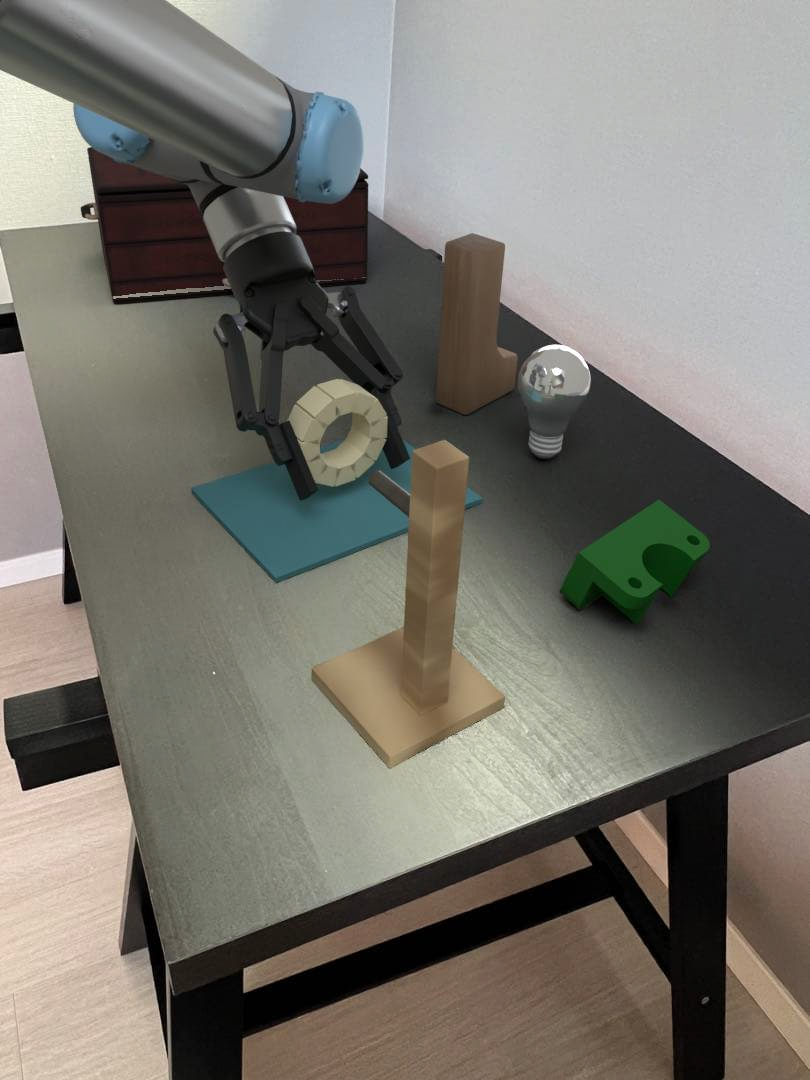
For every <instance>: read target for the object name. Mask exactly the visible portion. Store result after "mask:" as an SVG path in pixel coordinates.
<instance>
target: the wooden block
mask: <svg viewBox="0 0 810 1080" xmlns="http://www.w3.org/2000/svg"><path fill="white" fill-rule="evenodd" d="M505 253H506V244H505V243H504V242H502V241H499V240H495V239H492V238H489V237H486V236H483V235H480V234H477V233H474V232H473V233H469V234H466V235H463V236H459V237H457V238H454V239H451V240H449V241H446V242H445V245H444V259H443V273H442V275H443V276H442V291H441V305H440V306H441V307H440V308H441V309H440V322H439V323H440V326H439V341H438V356H437V373H436V374H437V375H436V389H435V402H436V403H437V404H438V405H441V406H443V407H445V408H447V409H449V410H452V411H454V412H456V413H459V414H461V415H464V416H468V415H469V414H472V413H473V412H476V411H477V410H479V409H481V408H483V407H485V406H486V405H488V404H490V403H492V402H494V401H495V400H497V399H500V398H501V397H503V396H505V395H506V394H509V393H510V392H512V391H514V389H515V385H516V376H517V368H518V367H517V366H518V359H519V355H518V354H517V353H516V352H512V351H510V350H507V349H505V348H502V347H501V346H498V338H497V333H498V326H499V325H498V324H499V315H500V304H501V295H502V294H501V293H502V285H503V273H504V264H505Z"/></svg>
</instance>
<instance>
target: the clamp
mask: <svg viewBox="0 0 810 1080" xmlns="http://www.w3.org/2000/svg"><path fill="white" fill-rule="evenodd" d="M710 544H711V543H710V541H709V538H707V536H706V535H705V534H704V533H703V532H701V531H700V530H699V529H697V528H696V527H695V526H693V524H692V523H690V522H688V521H687V520H686V519H685V518H683V517H682V516H681V515H680V514H678V513H677V512H676V511H675V510H673V509H672V508H670V507H669V506H668V505H666V504H665V503H664V502H663V501H662V500H660V499H657V500H656V501H654V502H653V503H651V504H650V505H648V506H647V507H645V508H644V509H642V510H641V511H639V512H637V513H636V514H635V515H633V516H632V517H630V518H629V519H627V520H625V521H624V522H622V523H621V524H619V525H618V526H616V527H615V528H614V529H612V530H610V531H609V532H607V533H606V534H604V535H603V536H601V537H600V538H598V539H597V540H595V541H594V542H592V543H591V544H589V545H587V547H586V546H585V548H583V549H582V550H580V551H579V552H578V553H577V555H576V557H575V559H574V561H573V563H572V565H571V567H570V569H569V571H568V572H567V575H566V577H565V578H564V580H563V583H562V584H561V586H560V589H559V593H560V594H561V595H562V596H563V597H564V598H566V600H568V601H569V602H570V603H572V605H574V606H575V607H576V608H577V609H578V610H579V611H580V610H583V609H585V608H586V607H588V605H590V604H591V603H593V602H594V601H596V600H597V599H599V598H601V596H603V597H604V598H605V599H606V600H607V601H609V602H610V603H611V604H612V605H613V606H614V607H616V608H617V609H618V610H619V611H620V612H621V613H622V614H624V615H625V616H626V617H627V618H628V619H630V620H631V621H632V622H633V623H634V624H635V625H637V624H638V623H640V622H641V620H642V619H643V618H644V615H645V614H646V613H647V611H648V610H649V607H650V606H651V604H652V603H653V601H654V600H655V598H656V596H657V595H658V593H659V592H660V589H662V590H663V591H664V592H665V593H666V594H668V596H669V597H670V598H672V597H673V596H674V595H675V594H676V593H677V591H678V589H679V588H680V586H681V585H682V583H683V582H684V580H685V579H686V577H687V576H688V574H689V572H690V571H691V570H692V569H693V568H694V567H696V566H697V565H699V563H701V562H702V560H703V559H704V557H705V555H706V554H707V553H708V551H709V549H710V546H711V545H710Z"/></svg>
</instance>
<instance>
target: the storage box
mask: <svg viewBox="0 0 810 1080" xmlns="http://www.w3.org/2000/svg"><path fill="white" fill-rule="evenodd" d="M86 150H87V158H88V163H89V170H90V177H91V183H92V190H93V197H94V202H88V203H86V204H84V205H81V207H80V213H81V217H82V218H83V219H87V220H92V221H97V222H98V223H97V224H98V229H99V236H100V242H101V248H102V256H103V260H104V265H105V270H106V275H107V280H108V286H109V290H110V294H111V300H112V303H113V304H116V305H120V304H121V305H123V304H133V303H134V304H135V303H143V302H145V303H146V302H155V301H168V300H180V299H181V300H182V299H192V298H204V297H214V296H227V295H234V294H233V291H232V289H224V290H212V291H200V292H188V293H176V294H164V295H152V296H140V297H128V298H116V299H113V298H112V297H113V296H122V295H129V294H136V293H148V292H160V291H167V290H176V289H186V288H205V287H214V286H224V285H225V286H229V287H231V286H230V284H229V282H228V279H227V277H226V274H225V272H224V269H223V266H224V263H225V262H223V261H221V260H220V258H219V257H218V254H217V252H216V250H215V247H214V245H213V242H212V240H211V238H210V235H209V233H208V230H207V228H206V226H205V223H204V221H203V218H202V216H201V213H200V210H199V208H198V206H197V204H196V201H195V199H194V197H193V195H192V192H191V190H190V188H189V187H188V185H186V184H184V183H180V182H177V181H174V180H172V179H170V178H168V177H165V176H162V175H159V174H156V173H153V172H150V171H148V170H145V169H142V168H139V167H136V166H133V165H130V164H126V163H124V162H123V163H118V162H116V161H114V160H113V158H111V157H109V156H107V155H105V154H103V153H100V152H98V151H96V150H95V149H93V148H92V147H91V146H90V147H87V149H86ZM368 179H369V175H368V174H367V172H366V171H364V170H363V169H362V168H361V167H360V173H359V176H358V178H357V181H356V183H355V185H354V187H353V188H352V190H351V191H350V193H349V194H348V195H347V196H346V197H345V198H344V199H342V200H341V201H339V202H336V203H332V204H326V203H319V202H312V201H305V202H300V201H299V200H298V199H293V198H289V197H284V196H283V197H284V199H285V202H286V204H287V206H288V208H289V211H290V213H291V215H292V218H293V220H294V222H295V224H296V228H297V230H296V233H295V234H296V235H298V236H299V237H300V238H301V240H302V242H303V245H304V247H305V249H306V252H307V254H308V256H309V259H310V261H311V264H312V266H313V269H314V274H315V278H316V280H332V279H333V280H332V281H320V282H317V283H318V284H319V286H320V287H321V288H324V287H335V286H344V285H345V286H347V285H348V286H349V285H358V284H360V285H361V284H366V283H367V280H368V249H369V248H368V245H369V244H368V242H369V241H368V237H369V186H370V185H369V183H368V181H367V180H368ZM91 209H93V212H94V214H92V211H91ZM362 277H367V278H362ZM354 278H356V279H354ZM334 279H336V280H334ZM337 279H339V280H337ZM340 279H344V280H340Z"/></svg>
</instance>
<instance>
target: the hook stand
mask: <svg viewBox="0 0 810 1080" xmlns="http://www.w3.org/2000/svg"><path fill="white" fill-rule="evenodd" d="M469 466H470V456H468V455H467V454H465V453H464V452H463V451H461V450H460V449H459V448H457V446H456V447H455V446H454V445H453V444H451V443H450V442H448V441H447V440H446V439H442V440H439V441H436V442H434V443H430V444H428V445H425V446H424V445H423V446H422V447H419V448H415V450H413V451H412V467H411V488H410V493H408V492H407V491H406V490H405V489H403V488H402V487H401V486H400V485H398V484H397V483H396V482H395V481H393V480H392V479H391V478H390V477H388V476H387V475H386V474H385V473H383V472H382V471H379V470H378V471H375V472H373V473H372V474H371V475H370V477H369V485H370V486H371V487H373V488H374V489H375V490H376V491H377V492H379V493H380V494H381V495H382V496H383V497H385V498H386V499H387V500H388V501H390V502H391V503H392V504H393V505H394V506H396V507H397V508H398V509H399V510H400V511H402V512H403V513H404V514H405V515H406V516H408V517H409V530H408V532H407V533H408V535H407V552H406V571H405V573H406V574H405V575H406V576H405V596H404V615H403V618H404V619H403V627H399V628H398V629H397V630H394V631H391V632H389V633H386V634H384V635H382V636H380V637H378V638H376V639H373V640H371V641H369V642H367V643H365V644H362V645H360V646H358V647H355V648H353V649H351V650H349V651H347V652H344V653H342V654H340V655H338V656H335V657H333V658H331V659H329V660H327V661H325V662H322V663H320V664H317V665H315V666H313V667H311V680H312V681H313V683H314V684H315V685H316V686H317V687H318V688H319V689H320V690H321V692H322V693H323V694H324V696H326V697H327V699H328V700H329V701H330V702H331V703H332V705H334V707H335V708H336V709H337V710H338V711H339V712H340V714H342V716H343V717H344V718H345V719H346V720H347V722H348V723H349V724H350V725H351V727H353V729H354V730H355V731H356V732H357V733H358V734H359V735H360V737H361V738H363V740H364V741H365V742H366V744H367V745H368V746H369V747H370V748H371V749H372V750H373V751H374V753H375V754H376V755H377V756H378V757H379V758H380V759H381V761H382V762H383V763H384V764H385V765H386V767H388V769H391V768H393V767H395V766H397V765H399V764H400V763H402V762H404V761H406V760H409V759H411V758H412V757H414V756H416V755H417V754H420V753H421V752H423V751H425V750H427V749H429V748H431V747H433V746H434V745H436V744H438V743H440V742H442V741H444V740H446V739H447V738H449V737H451V736H453V735H455V734H457V733H459V732H461V731H463V730H464V729H467V728H468V727H470V726H472V725H474V724H476V723H477V722H479V721H481V720H483V719H485V718H487V717H489V716H490V715H492V714H495V713H496V712H498V711H500V710H502V709H504V707H505V703H506V702H505V701H506V696H505V694H503V692H502V691H500V689H499V688H498V687H496V686H495V685H494V684H493V683H492V682H491V681H490V680H489V679H488V678H487V677H486V676H485V675H484V674H482V673H481V672H480V670H478V669H477V667H475V666H473V664H471V662H470V661H468V660H467V659H466V658H465V657H464V656H463V655H462V654H461V653H460V652H459V651H457V650H456V649H455V648H454V647H453V646H454V645H453V644H454V634H455V622H456V612H457V611H456V610H457V600H458V589H459V588H458V586H459V578H460V568H461V567H460V566H461V557H462V543H463V533H464V522H465V511H466V509H465V500H466V489H467V487H468V478H469V477H468V476H469Z"/></svg>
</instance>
